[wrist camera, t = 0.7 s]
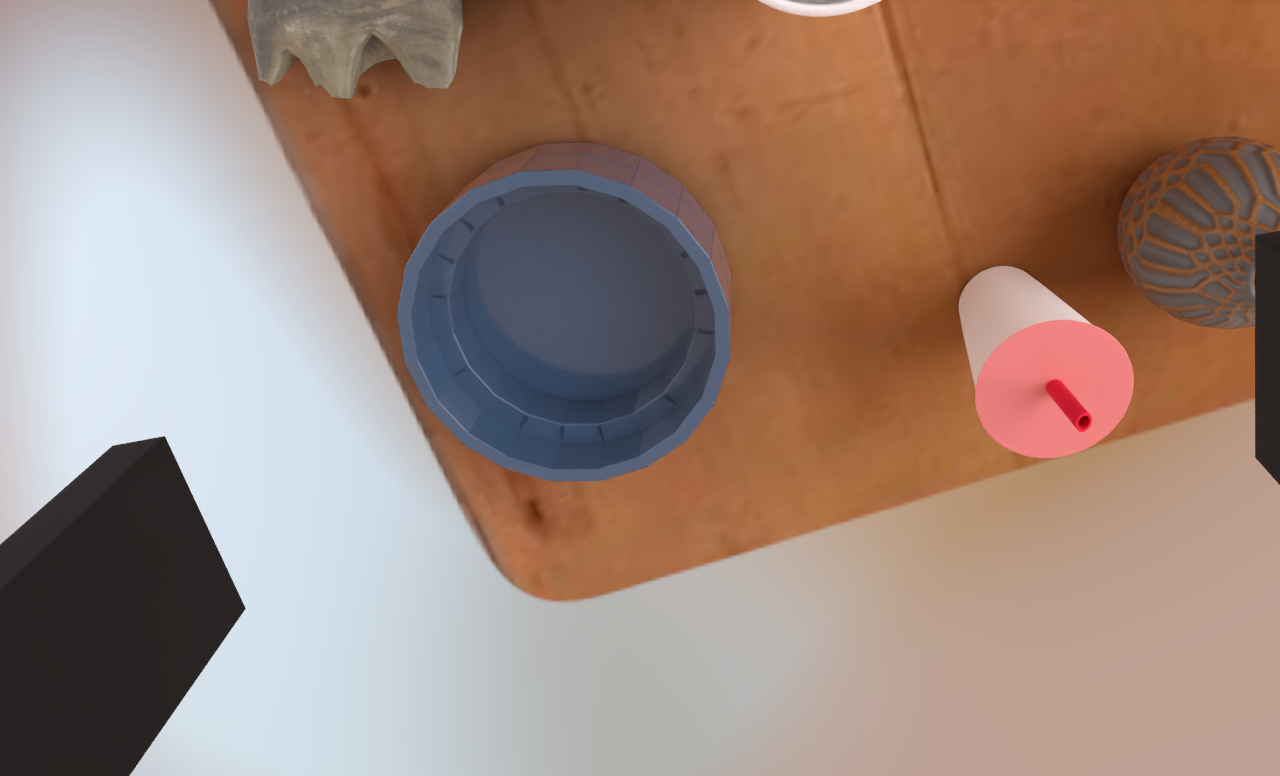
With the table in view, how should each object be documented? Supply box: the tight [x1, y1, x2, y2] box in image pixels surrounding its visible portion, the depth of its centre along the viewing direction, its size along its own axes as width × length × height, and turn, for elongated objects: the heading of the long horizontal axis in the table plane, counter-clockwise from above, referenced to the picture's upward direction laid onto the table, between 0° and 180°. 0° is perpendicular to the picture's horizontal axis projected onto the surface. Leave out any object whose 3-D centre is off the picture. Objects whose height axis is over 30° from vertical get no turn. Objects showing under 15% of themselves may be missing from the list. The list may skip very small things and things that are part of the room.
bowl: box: [397, 142, 732, 481], centre depth 44 cm, size 13×13×6 cm
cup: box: [959, 266, 1134, 458], centre depth 40 cm, size 5×5×12 cm
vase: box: [1117, 137, 1280, 329], centre depth 39 cm, size 7×7×9 cm
